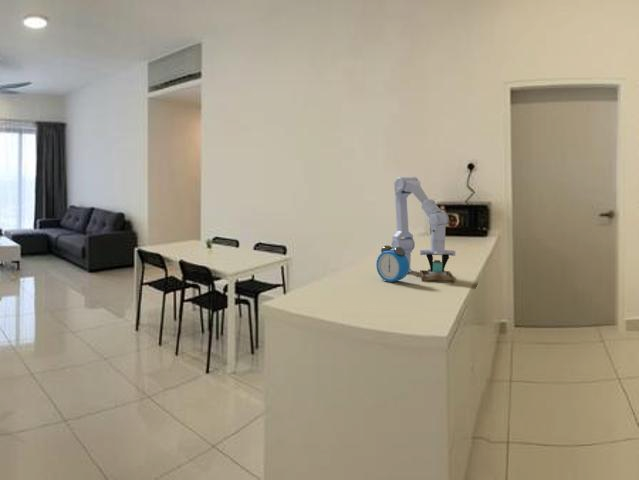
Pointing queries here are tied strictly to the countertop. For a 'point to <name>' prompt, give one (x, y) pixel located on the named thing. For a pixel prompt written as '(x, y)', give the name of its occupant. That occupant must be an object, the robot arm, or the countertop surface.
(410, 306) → the countertop surface
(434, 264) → the connector
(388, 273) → the alarm clock
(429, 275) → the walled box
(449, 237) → the countertop surface
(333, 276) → the countertop surface
